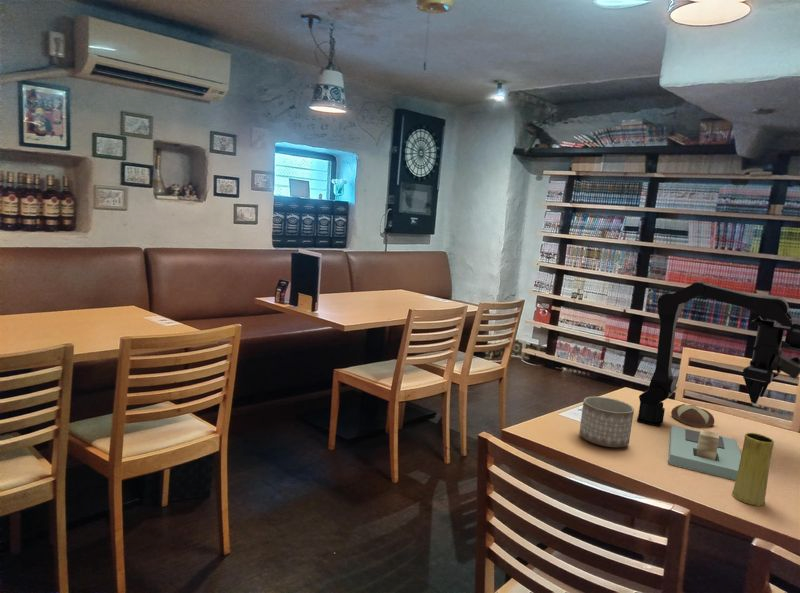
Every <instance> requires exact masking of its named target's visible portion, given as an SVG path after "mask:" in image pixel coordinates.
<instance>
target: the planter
mask: <svg viewBox="0 0 800 593" xmlns="http://www.w3.org/2000/svg"><path fill="white" fill-rule="evenodd" d="M634 412H635V408H634V406H632V405H631V404H630V403H628V402H625V401H622V400H620V399H616V398H611V397H605V396H595V395H594V396H587V397H585V398H584V399H583V402H582V410H581V418H580V424H579V426H580V427H579V430H578V431H579V435H580V436H581V437H582V439H584V440H585V441H587V442H590V443H593V444H595V445H599V446H602V447H607V448H624V447H627V446H628V445H630V441H631V440H630V439H631V431H632V427H633V426H632V425H633V419H634Z"/></svg>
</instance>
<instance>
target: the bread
mask: <svg viewBox="0 0 800 593" xmlns="http://www.w3.org/2000/svg"><path fill="white" fill-rule="evenodd" d="M670 414H671V417H672V418H673V419H674V420H677V421H679V422H681V423H682V424H685V425H686V426H687V427H688V426H689V427H693V428H698V429H701V428H709V427H713V426H714V425H715V417H714V415H713V414H712V413H711V412H709V411H708V410H706V409H703V408H700V407H699V406H697V405H694V404H687V405H686V404H684V403H683V404H679V405H677V406H674V408H672V409H671V411H670Z"/></svg>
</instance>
